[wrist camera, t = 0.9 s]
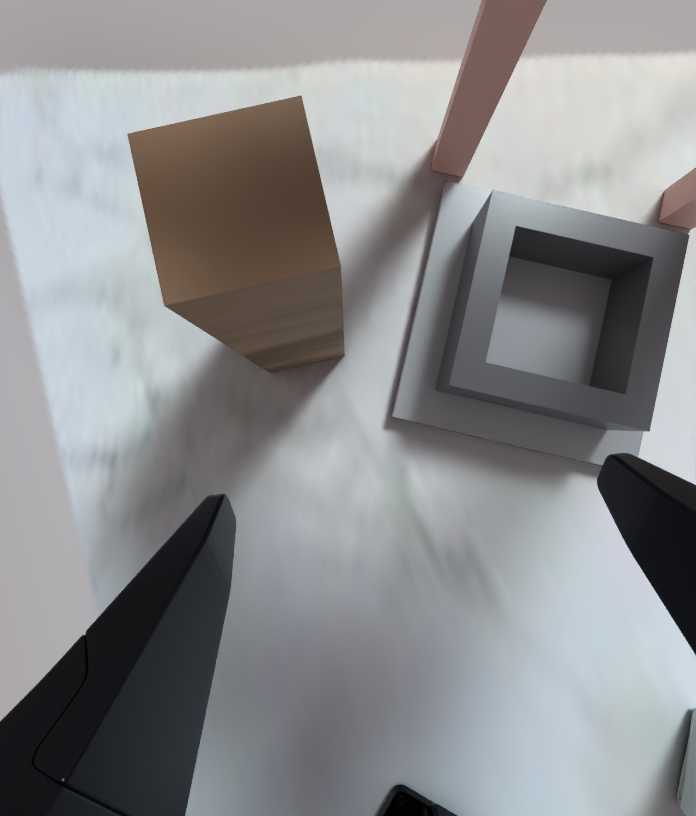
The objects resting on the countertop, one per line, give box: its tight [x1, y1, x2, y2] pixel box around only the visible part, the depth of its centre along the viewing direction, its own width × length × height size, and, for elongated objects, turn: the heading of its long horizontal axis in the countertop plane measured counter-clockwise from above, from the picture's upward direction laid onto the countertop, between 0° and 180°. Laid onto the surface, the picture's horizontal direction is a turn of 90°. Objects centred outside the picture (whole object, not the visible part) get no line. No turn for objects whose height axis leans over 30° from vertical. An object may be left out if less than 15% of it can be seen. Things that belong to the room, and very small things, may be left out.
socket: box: [391, 181, 689, 466], centre depth 21 cm, size 14×14×4 cm
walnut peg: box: [128, 96, 344, 373], centre depth 16 cm, size 4×4×13 cm
